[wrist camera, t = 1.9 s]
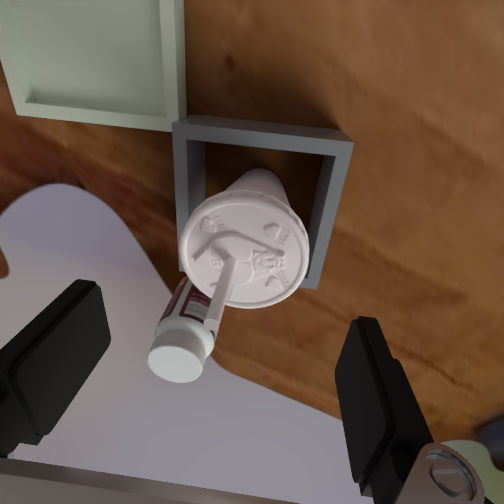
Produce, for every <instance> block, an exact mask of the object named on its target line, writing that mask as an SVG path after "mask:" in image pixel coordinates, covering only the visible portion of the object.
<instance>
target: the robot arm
mask: <svg viewBox="0 0 504 504" xmlns="http://www.w3.org/2000/svg"><path fill="white" fill-rule="evenodd" d="M110 341H111V336H110V330H109V326H108V321H107V316H106V311H105V307H104V302H103V297H102V292H101V288H100V287H99V286H97V284H96V282H94V281H88V280H82V279H78V280H76V281H74V282H73V283H72V284H71V285H70V286H69V287H68V288H67V289H65V290H64V291H63V292H62V293H61V294H60V295H59V296H58V297H57V298H56V299H55V300H54V301H52V302H51V303H50V304H49V305H48V306H47V307H46V308H45V309H44V310H43V311H42V312H41V313H39V315H37V316H36V317H35V318H34V319H33V320H32V321H31V322H30V323H29V324H28V325H26V326H25V327H24V329H22V330H21V331H20V332H19V333H18V334H17V335H16V336H15V337H14V338H13V339H11V340H10V341H9V342H8V343H7V344H6V345H5V346H4V347H3V348H2V349H0V504H298V503H293V502H287V501H281V500H274V499H268V498H262V497H256V496H250V495H244V494H237V493H231V492H225V491H219V490H213V489H206V488H200V487H194V486H187V485H181V484H174V483H168V482H162V481H155V480H149V479H143V478H136V477H129V476H124V475H117V474H110V473H104V472H96V471H91V470H84V469H78V468H71V467H64V466H58V465H51V464H45V463H38V462H31V461H23V460H16V459H14V450H15V448H16V447H17V446H18V444H19V443H24V444H30V445H38V444H39V442H40V441H41V439H42V438H43V436H44V435H48V434H49V433H50V432H51V431H52V429H53V428H54V427H55V425H56V424H57V422H58V421H59V419H60V418H61V416H62V415H63V413H64V412H65V411H66V409H67V407H68V406H69V404H70V403H71V402H72V400H73V399H74V397H75V396H76V394H77V393H78V391H79V390H80V388H81V387H82V385H83V384H84V382H85V381H86V379H87V378H88V376H89V375H90V374H91V372H92V371H93V369H94V368H95V366H96V365H97V363H98V362H99V360H100V359H101V357H102V356H103V354H104V353H105V351H106V350H107V348H108V347H109V345H110ZM335 382H336V387H337V393H338V399H339V404H340V410H341V416H342V421H343V427H344V432H345V438H346V444H347V449H348V455H349V461H350V467H351V472H352V477H353V480H354V482H355V483H359V487H360V492H361V496H367V497H373V500H374V504H493V503H492V502H491V501H490V500H489V499H488V498H486V497H485V491H484V487H483V484H482V481H481V479H480V477H479V475H478V474H477V472H476V470H475V469H474V468H473V467H472V465H471V464H470V463H469V462H468V460H466V459H465V458H464V457H463V456H462V455H461V454H459V453H458V452H457V451H455V450H453V449H451V448H450V447H448V446H445V445H443V444H440V443H434V440H433V438H432V435H431V433H430V431H429V428H428V426H427V424H426V421H425V419H424V417H423V414H422V412H421V410H420V407H419V405H418V403H417V400H416V398H415V396H414V393H413V391H412V388H411V386H410V384H409V381H408V379H407V377H406V374H405V372H404V370H403V367H402V365H401V363H400V362H399V361H398V360H397V359H394V358H393V357H392V355H391V352H390V350H389V347H388V345H387V343H386V340H385V338H384V335H383V333H382V330H381V328H380V325H379V323H378V321H377V319H376V318H371V317H364V316H359V317H358V318H357V320H355V319H353V320H352V322H351V325H350V328H349V331H348V334H347V336H346V339H345V342H344V345H343V348H342V351H341V354H340V357H339V360H338V362H337V365H336V368H335Z"/></svg>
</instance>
